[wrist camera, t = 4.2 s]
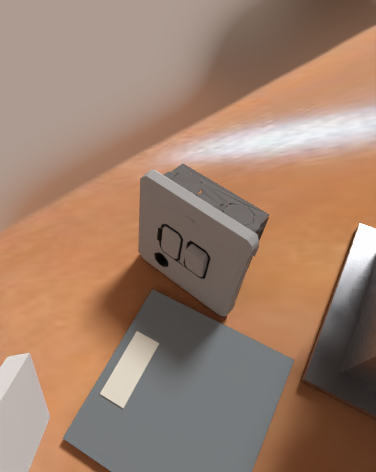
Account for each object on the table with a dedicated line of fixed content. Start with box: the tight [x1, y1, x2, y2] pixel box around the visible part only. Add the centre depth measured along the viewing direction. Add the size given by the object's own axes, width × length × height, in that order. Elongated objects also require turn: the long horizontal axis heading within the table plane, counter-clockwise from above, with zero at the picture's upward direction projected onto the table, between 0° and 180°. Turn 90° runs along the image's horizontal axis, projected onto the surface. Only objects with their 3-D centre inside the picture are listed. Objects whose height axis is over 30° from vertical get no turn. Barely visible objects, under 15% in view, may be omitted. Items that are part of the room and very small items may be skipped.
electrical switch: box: [138, 164, 269, 316], centre depth 27 cm, size 9×5×9 cm, turn 51°
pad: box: [63, 289, 294, 472], centre depth 25 cm, size 12×12×1 cm
